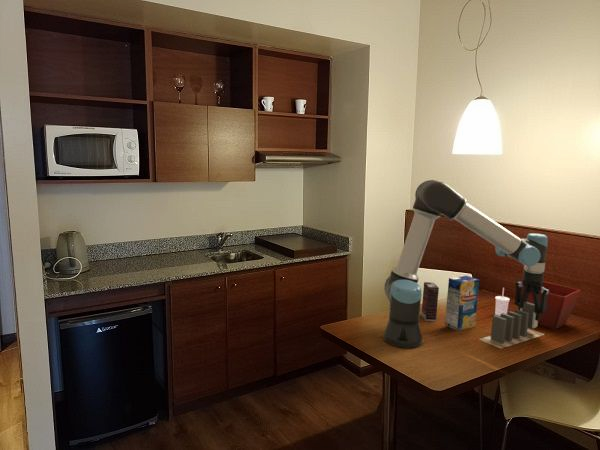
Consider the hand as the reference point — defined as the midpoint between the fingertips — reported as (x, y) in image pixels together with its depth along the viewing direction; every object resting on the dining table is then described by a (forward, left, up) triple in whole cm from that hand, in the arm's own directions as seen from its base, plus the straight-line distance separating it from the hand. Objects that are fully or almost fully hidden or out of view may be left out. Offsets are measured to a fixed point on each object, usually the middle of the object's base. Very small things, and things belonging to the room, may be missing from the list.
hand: (527, 324), depth 185 cm
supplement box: (-23, +33, -5) cm, 41 cm away
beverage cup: (+10, +19, -5) cm, 22 cm away
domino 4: (-5, 0, -3) cm, 6 cm away
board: (-10, 0, -4) cm, 11 cm away
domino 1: (-20, 0, -3) cm, 20 cm away
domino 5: (0, 0, -1) cm, 1 cm away
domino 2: (-15, 0, -3) cm, 15 cm away
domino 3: (-10, 0, -3) cm, 11 cm away
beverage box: (-20, +18, -5) cm, 27 cm away
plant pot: (+21, +4, -5) cm, 22 cm away
